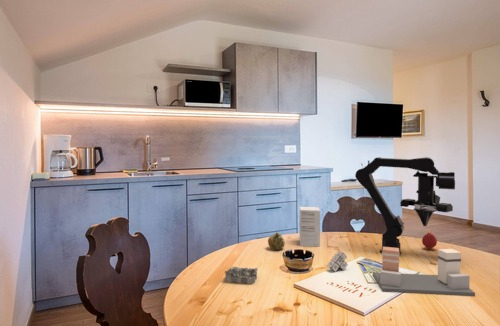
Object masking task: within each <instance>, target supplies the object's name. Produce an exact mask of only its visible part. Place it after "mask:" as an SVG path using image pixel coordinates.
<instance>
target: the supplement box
mask: <svg viewBox="0 0 500 326" xmlns="http://www.w3.org/2000/svg"><path fill="white" fill-rule="evenodd" d="M320 224H321V209H320V207H319V206H299V246H300V247H318V248H319V247H320V246H321V245H320V243H321V225H320Z"/></svg>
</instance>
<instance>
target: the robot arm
mask: <svg viewBox="0 0 500 326" xmlns="http://www.w3.org/2000/svg"><path fill="white" fill-rule="evenodd" d="M380 167H383V168H384V167H386V168H398V169H399V168H401V169H403V168H404V169H411V170H414V171H416V173H415V174H413V175H412V176H413V177H414V178H418V179H417V190H416V191H415V193H416V194H417V200H416V199H414V198H412V199H411V198H405V199H404V198H403V199H401V200H400V202H399V203H400V204H399V206H400V207H404V208H408V207H409V206H413V207H414V208H413V211H415V212H416V214H417V215H418V218H419V220H420V221H421V224H422V226H423V227H427V226H428V224H429V221H430V220H431V216H432V215H433V213H434V212H435V213H436V212H439V213H440V212H441V213H450V212H453V207H454V206H453V205H452V204H451V203H447V202H440V201H441V196H440V195H437V194H436V190H434V189H435V187H438V190H455V189H456V180H455V172H454V171H453V172H452V171H451V172H441V171H439V169H437V168H436V166H435V161H434V160H433V159H432V158H431V157H427V156H426V157H417V158H410V159H408V158H391V157H390V158H388V157H387V158H385V157H375V158H374V159H373V160H372V161H371V162H369V163H368V164H367V165H366V166H364V167H363V168H359V169H358V170H356V172H355V175H354V176H355V179H356V180H357V181H358V183H359V184H360V185H361V186H362V187H363V188H365V190H366V191H367V192H368V195H369V196H370V198H371V200H372V201H373V203H374V205H375V206H376V208H377V209H378V210H377V211H379V213H380V214H381V216H382V218H383V221H384V224H385V227H386V229H385V230H384V231H383V233H382V235H381V236H382V237H381V250H380V251H379V253H382V250H383V247H392V248H399V254H401V253H402V251H401V242H400V237H401V236H402V234H403V232H404V231H405V230H404V229H405V226H404V224H405V222H403V220H402V219H401V217H400V215H399V214H398V215H397V216H396V215H395V214H394V213H393V212H392V210H391V209H390V207H389V206H388V204H387V202H386V200H385V199H384V197H383V195H382V194H381V192H380V191H379V189H378V187H377V186H376V184H375V179H374V178H375V177H373V174H374V173H375V172H376V171H377V170H378V169H379V168H380ZM428 173H429V174H428ZM430 174H431V175H430ZM434 186H435V187H434ZM398 237H399V238H398Z"/></svg>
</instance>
